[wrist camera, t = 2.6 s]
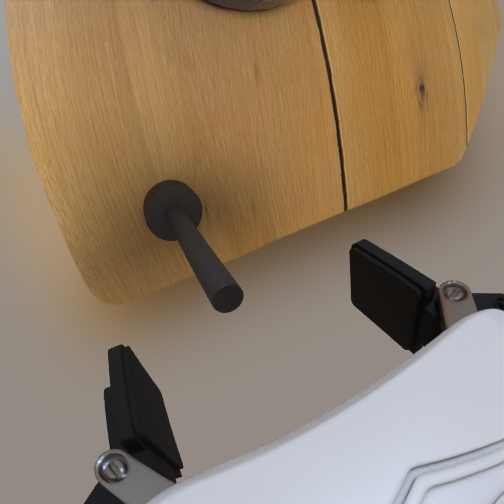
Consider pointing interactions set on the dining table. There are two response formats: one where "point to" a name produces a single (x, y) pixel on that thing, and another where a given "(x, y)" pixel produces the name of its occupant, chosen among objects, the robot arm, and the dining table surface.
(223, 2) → the bowl
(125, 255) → the dining table surface
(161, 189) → the black disc-end rod
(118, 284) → the dining table surface
